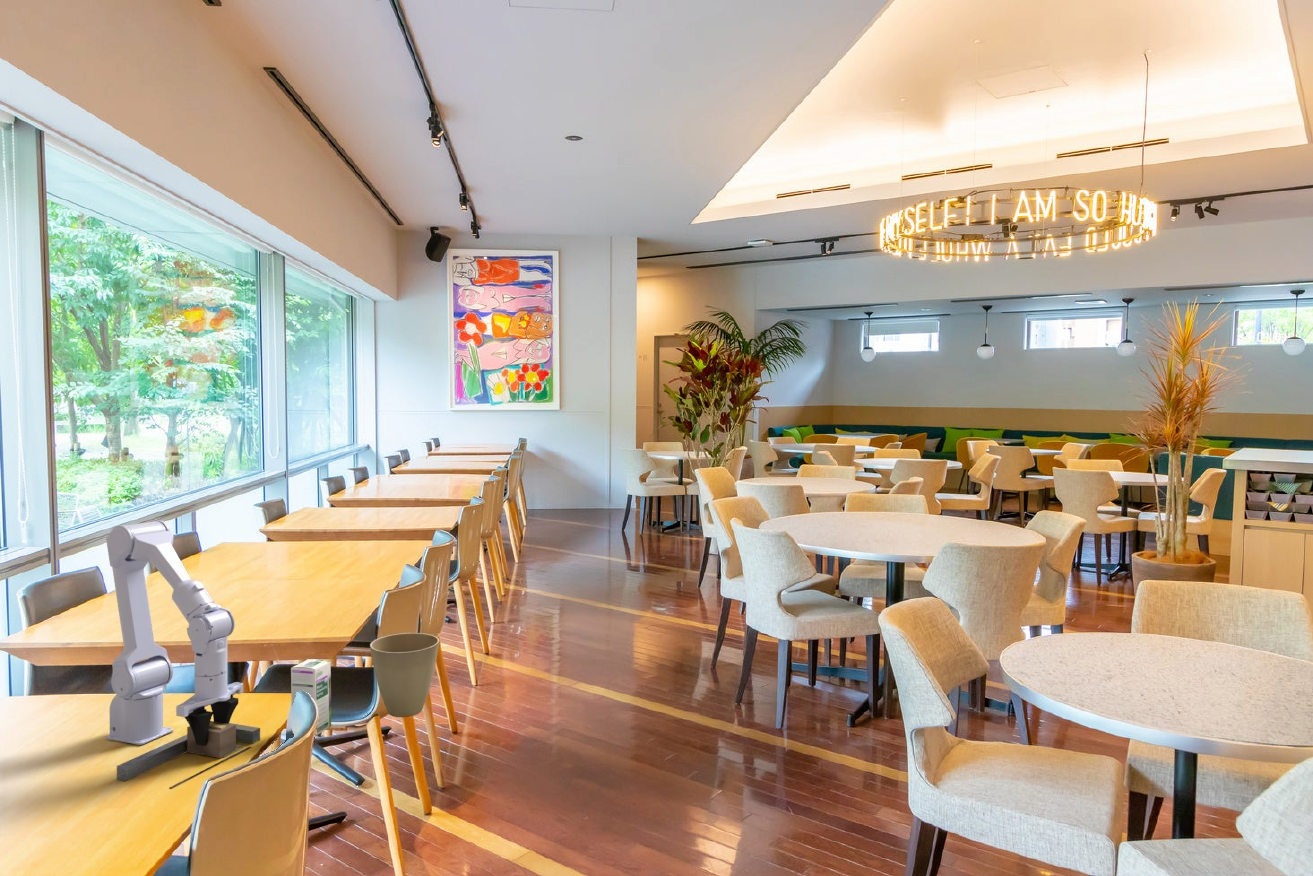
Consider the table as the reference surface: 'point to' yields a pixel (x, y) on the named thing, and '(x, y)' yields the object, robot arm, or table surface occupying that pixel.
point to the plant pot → (404, 670)
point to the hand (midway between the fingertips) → (211, 740)
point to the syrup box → (314, 687)
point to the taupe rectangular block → (214, 740)
